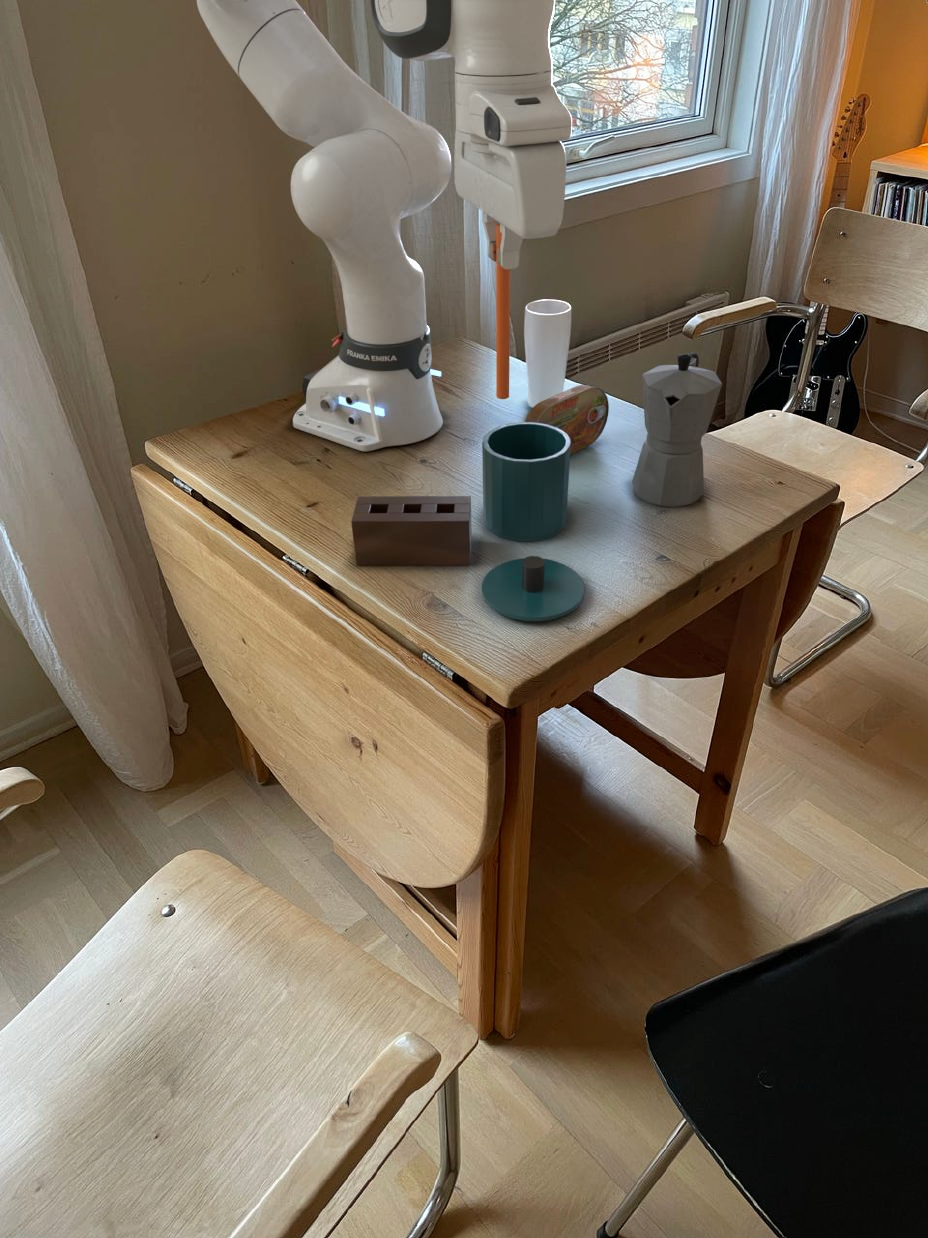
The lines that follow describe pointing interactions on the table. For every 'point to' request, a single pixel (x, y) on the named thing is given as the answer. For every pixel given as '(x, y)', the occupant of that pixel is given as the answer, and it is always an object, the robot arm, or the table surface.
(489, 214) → the robot arm
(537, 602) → the can lid
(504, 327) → the straw
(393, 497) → the straw rack
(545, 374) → the drinking glass
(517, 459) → the can
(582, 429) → the tin
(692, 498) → the coffeepot
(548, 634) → the table surface
